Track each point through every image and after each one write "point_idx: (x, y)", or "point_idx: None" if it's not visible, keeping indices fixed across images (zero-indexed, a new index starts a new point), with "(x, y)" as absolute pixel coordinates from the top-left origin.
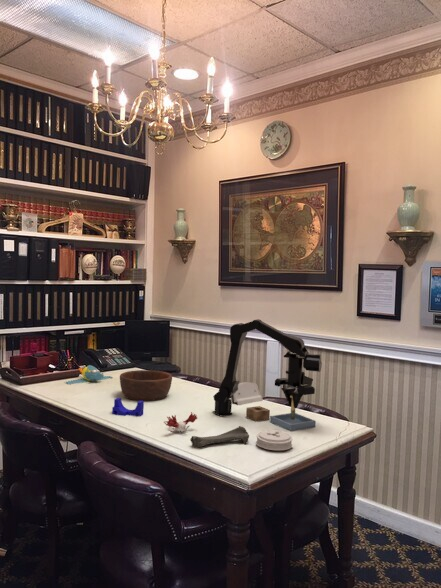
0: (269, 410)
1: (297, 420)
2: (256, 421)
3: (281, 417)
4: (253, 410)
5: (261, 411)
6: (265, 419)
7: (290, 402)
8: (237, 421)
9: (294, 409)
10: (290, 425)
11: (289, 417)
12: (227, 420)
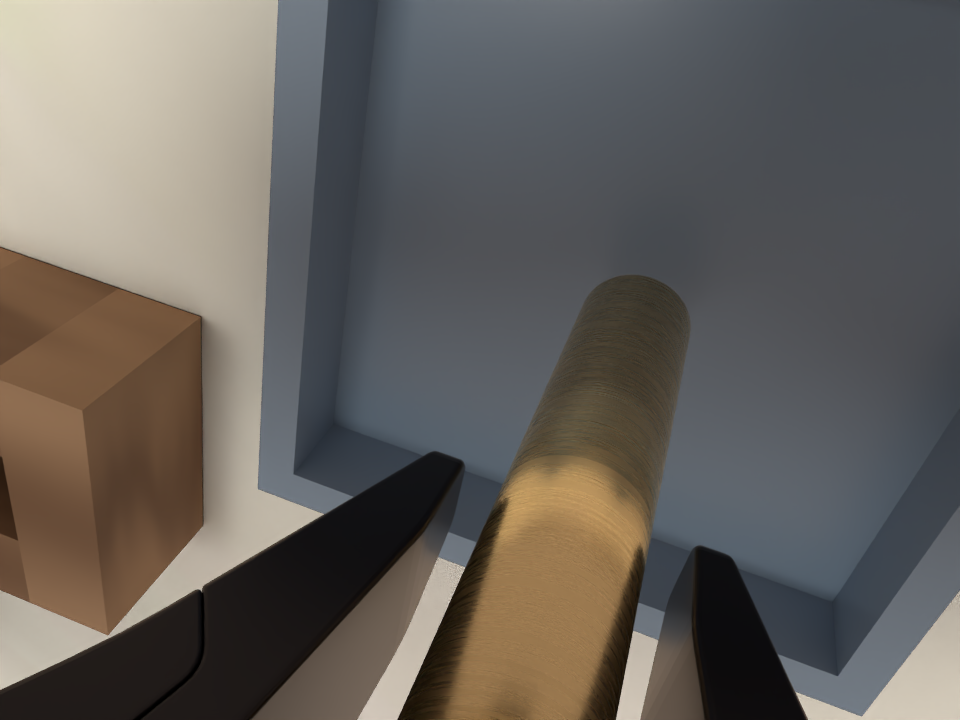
0: (88, 414)
1: (611, 7)
2: (202, 518)
3: (330, 265)
4: (23, 593)
5: (101, 558)
6: (193, 391)
7: (406, 613)
8: (113, 631)
9: (653, 514)
10: (849, 698)
11: (367, 24)
12: (49, 655)
